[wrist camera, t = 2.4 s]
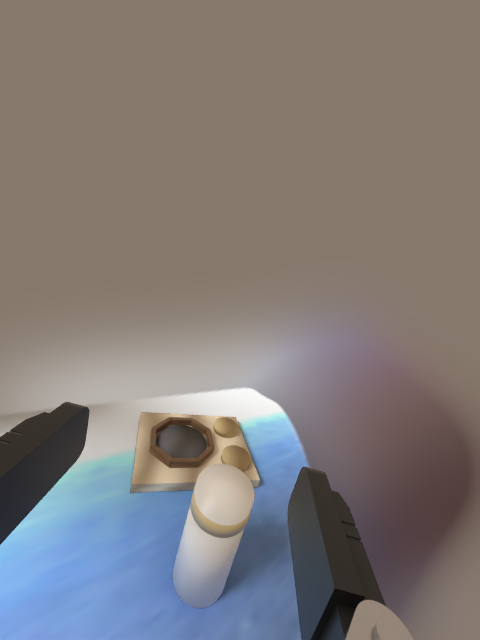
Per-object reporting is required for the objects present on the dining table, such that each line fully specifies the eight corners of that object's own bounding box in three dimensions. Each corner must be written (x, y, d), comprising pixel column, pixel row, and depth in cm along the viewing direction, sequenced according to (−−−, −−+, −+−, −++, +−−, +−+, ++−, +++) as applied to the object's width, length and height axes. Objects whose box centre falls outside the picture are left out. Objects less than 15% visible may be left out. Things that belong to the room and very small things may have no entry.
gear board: (130, 492, 30) (133, 477, 29) (139, 418, 42) (142, 406, 41) (257, 487, 35) (262, 473, 34) (233, 422, 47) (237, 412, 46)
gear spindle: (172, 614, 21) (199, 520, 19) (171, 545, 26) (192, 463, 23) (232, 603, 23) (263, 515, 20) (220, 540, 27) (245, 462, 25)
